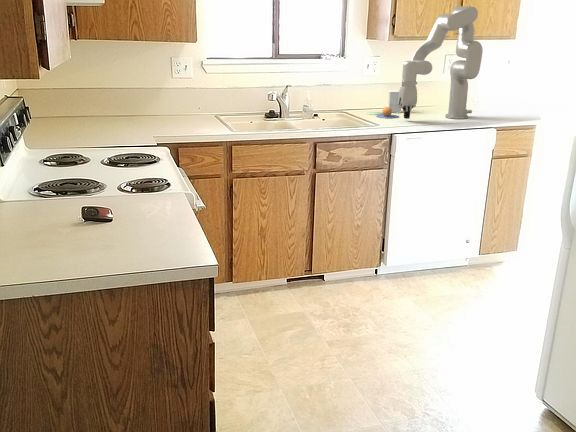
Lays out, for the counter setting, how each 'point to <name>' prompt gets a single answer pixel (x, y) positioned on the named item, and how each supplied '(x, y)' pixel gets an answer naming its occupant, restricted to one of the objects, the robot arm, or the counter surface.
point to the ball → (386, 111)
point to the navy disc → (387, 116)
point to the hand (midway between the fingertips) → (406, 118)
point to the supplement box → (394, 101)
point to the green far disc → (375, 113)
